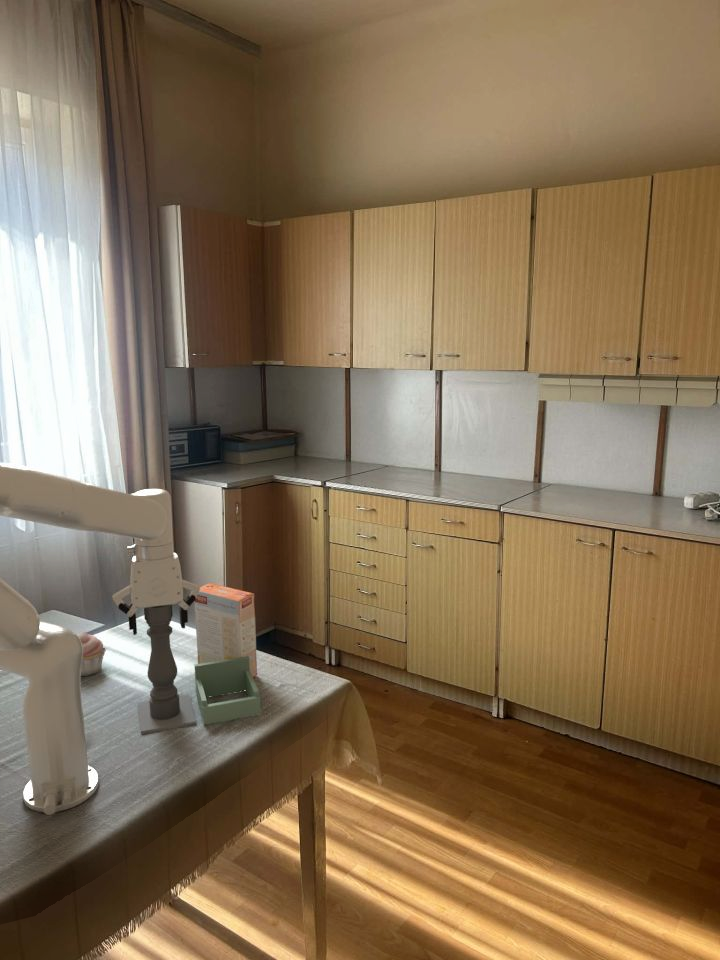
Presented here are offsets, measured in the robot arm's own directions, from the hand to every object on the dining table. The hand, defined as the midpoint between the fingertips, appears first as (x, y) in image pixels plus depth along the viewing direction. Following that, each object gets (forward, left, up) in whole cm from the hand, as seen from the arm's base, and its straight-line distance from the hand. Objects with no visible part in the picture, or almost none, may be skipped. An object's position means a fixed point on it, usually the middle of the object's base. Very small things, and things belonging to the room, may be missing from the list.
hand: (159, 629), depth 152 cm
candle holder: (0, 0, -19) cm, 19 cm away
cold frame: (-1, -13, -20) cm, 24 cm away
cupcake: (+27, +16, -20) cm, 37 cm away
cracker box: (+14, -16, -20) cm, 29 cm away
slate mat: (0, 0, -20) cm, 20 cm away
